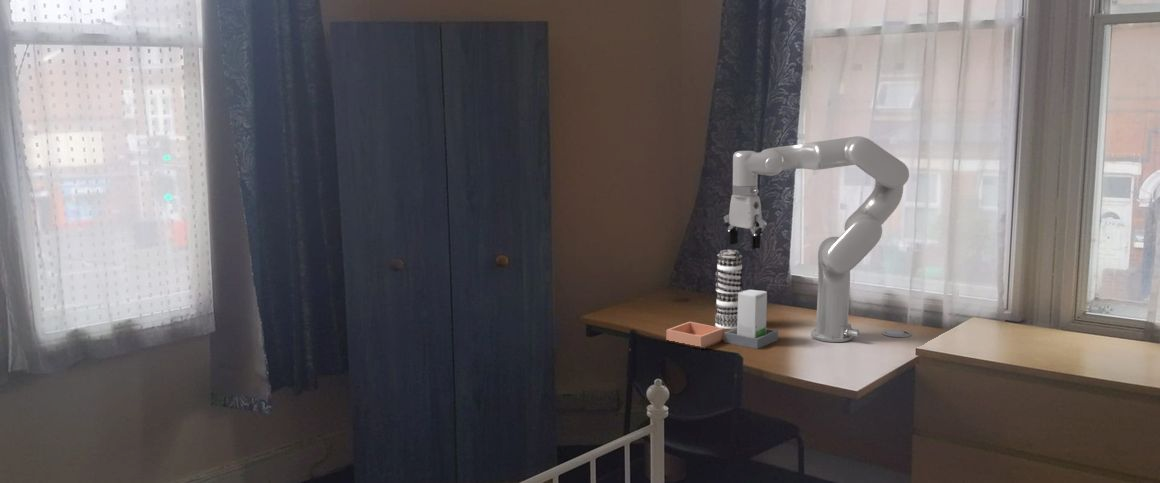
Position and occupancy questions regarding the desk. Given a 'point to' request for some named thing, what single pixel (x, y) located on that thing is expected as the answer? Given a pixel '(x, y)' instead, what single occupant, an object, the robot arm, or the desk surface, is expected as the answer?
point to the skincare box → (752, 313)
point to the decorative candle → (728, 288)
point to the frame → (751, 339)
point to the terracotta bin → (695, 334)
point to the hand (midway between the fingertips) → (744, 246)
